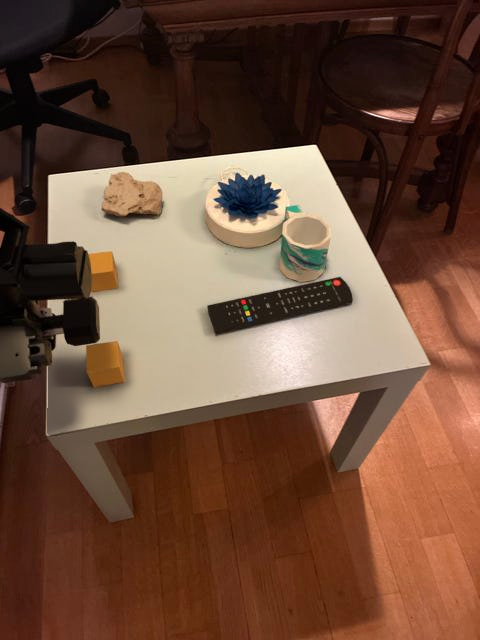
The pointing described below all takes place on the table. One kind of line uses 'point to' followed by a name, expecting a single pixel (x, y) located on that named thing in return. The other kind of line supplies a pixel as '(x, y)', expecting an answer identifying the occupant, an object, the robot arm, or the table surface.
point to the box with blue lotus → (246, 210)
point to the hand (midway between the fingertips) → (42, 362)
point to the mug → (303, 245)
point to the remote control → (279, 304)
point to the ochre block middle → (103, 271)
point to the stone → (131, 196)
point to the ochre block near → (104, 363)
